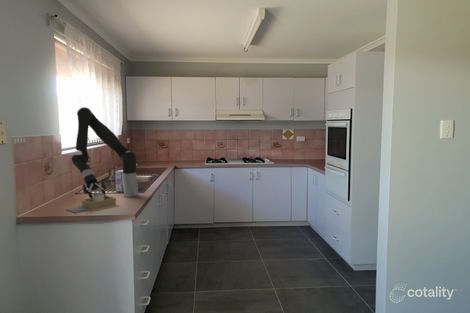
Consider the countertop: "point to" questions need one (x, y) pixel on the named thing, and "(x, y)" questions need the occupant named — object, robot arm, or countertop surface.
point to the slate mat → (77, 209)
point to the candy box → (119, 181)
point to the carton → (99, 203)
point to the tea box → (98, 197)
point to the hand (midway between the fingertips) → (98, 196)
